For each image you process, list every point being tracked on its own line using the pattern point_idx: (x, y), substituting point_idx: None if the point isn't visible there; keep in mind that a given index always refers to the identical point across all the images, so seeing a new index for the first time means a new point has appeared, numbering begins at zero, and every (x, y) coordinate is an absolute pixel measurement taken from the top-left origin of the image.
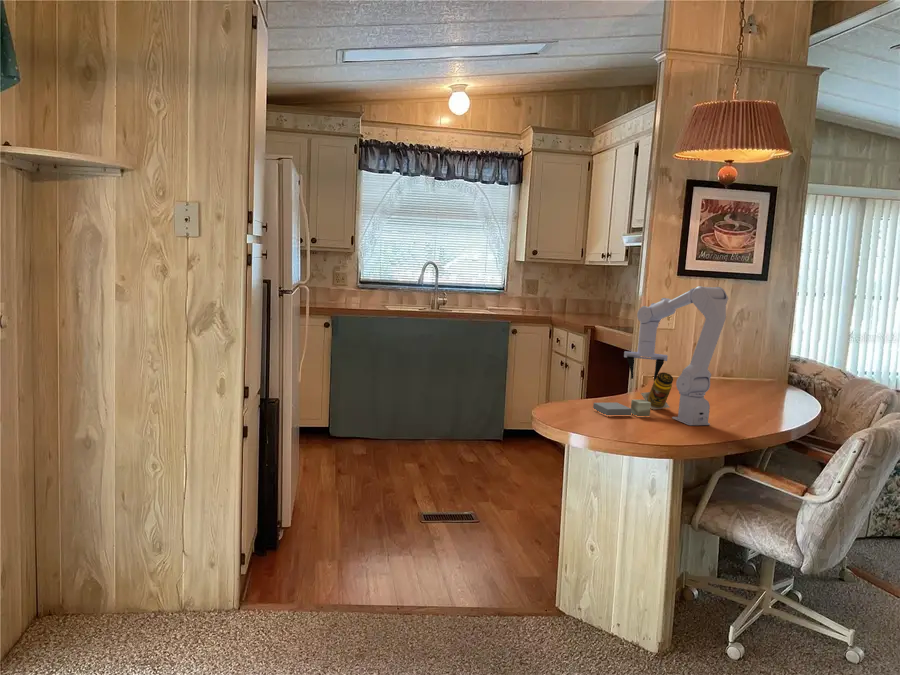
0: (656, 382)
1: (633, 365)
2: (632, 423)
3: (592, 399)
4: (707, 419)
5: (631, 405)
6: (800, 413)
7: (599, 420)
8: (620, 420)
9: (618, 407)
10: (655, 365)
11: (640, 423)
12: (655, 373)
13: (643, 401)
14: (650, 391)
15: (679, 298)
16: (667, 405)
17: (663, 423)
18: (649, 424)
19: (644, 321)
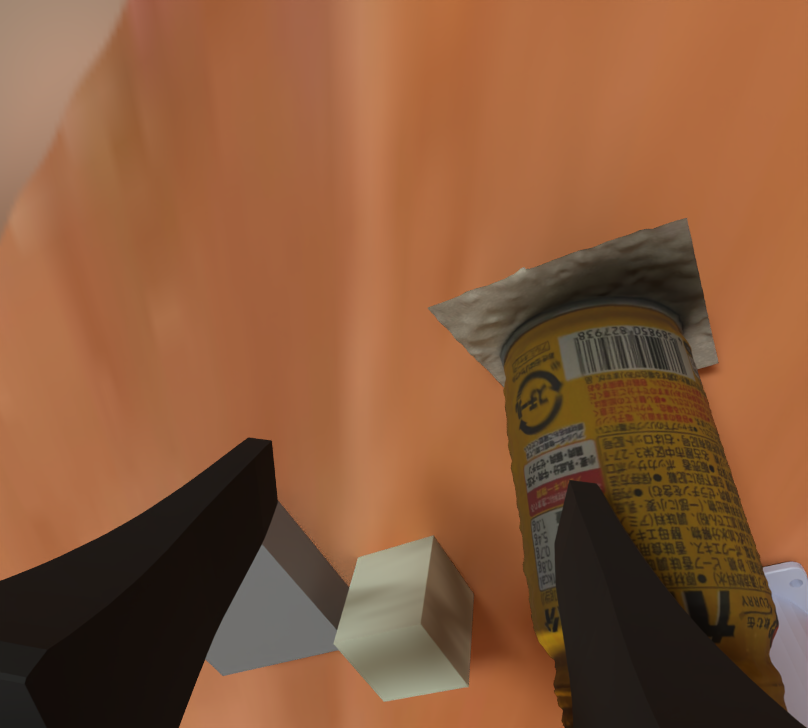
0: (554, 659)
1: (178, 714)
2: (368, 703)
3: (33, 208)
4: None
5: (347, 610)
6: None
7: (220, 686)
8: (311, 672)
9: (273, 635)
10: (629, 670)
11: (407, 698)
12: (573, 662)
13: (416, 671)
14: (513, 471)
15: None
16: (702, 352)
17: (533, 682)
18: (451, 705)
19: None
